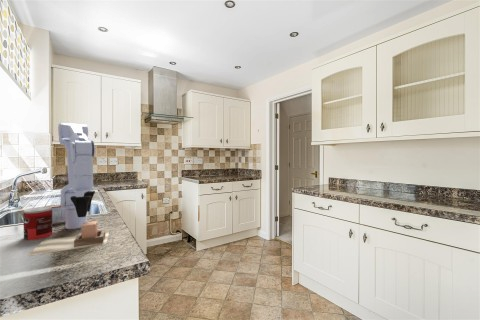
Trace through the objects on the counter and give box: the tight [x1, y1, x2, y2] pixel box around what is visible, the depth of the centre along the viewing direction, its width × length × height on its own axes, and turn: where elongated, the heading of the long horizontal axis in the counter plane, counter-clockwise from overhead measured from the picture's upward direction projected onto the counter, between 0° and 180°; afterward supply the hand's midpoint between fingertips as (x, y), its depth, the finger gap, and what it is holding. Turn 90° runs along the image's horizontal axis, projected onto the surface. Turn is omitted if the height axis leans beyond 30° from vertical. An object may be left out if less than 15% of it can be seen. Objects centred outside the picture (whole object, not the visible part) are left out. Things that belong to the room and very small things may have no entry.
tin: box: [43, 203, 65, 226], centre depth 101 cm, size 15×3×8 cm, turn 141°
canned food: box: [22, 206, 53, 241], centre depth 83 cm, size 8×8×11 cm
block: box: [80, 220, 98, 239], centre depth 78 cm, size 4×4×6 cm
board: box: [27, 229, 110, 257], centre depth 77 cm, size 14×20×3 cm
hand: (84, 214), depth 80 cm, fingers open, 7 cm apart
